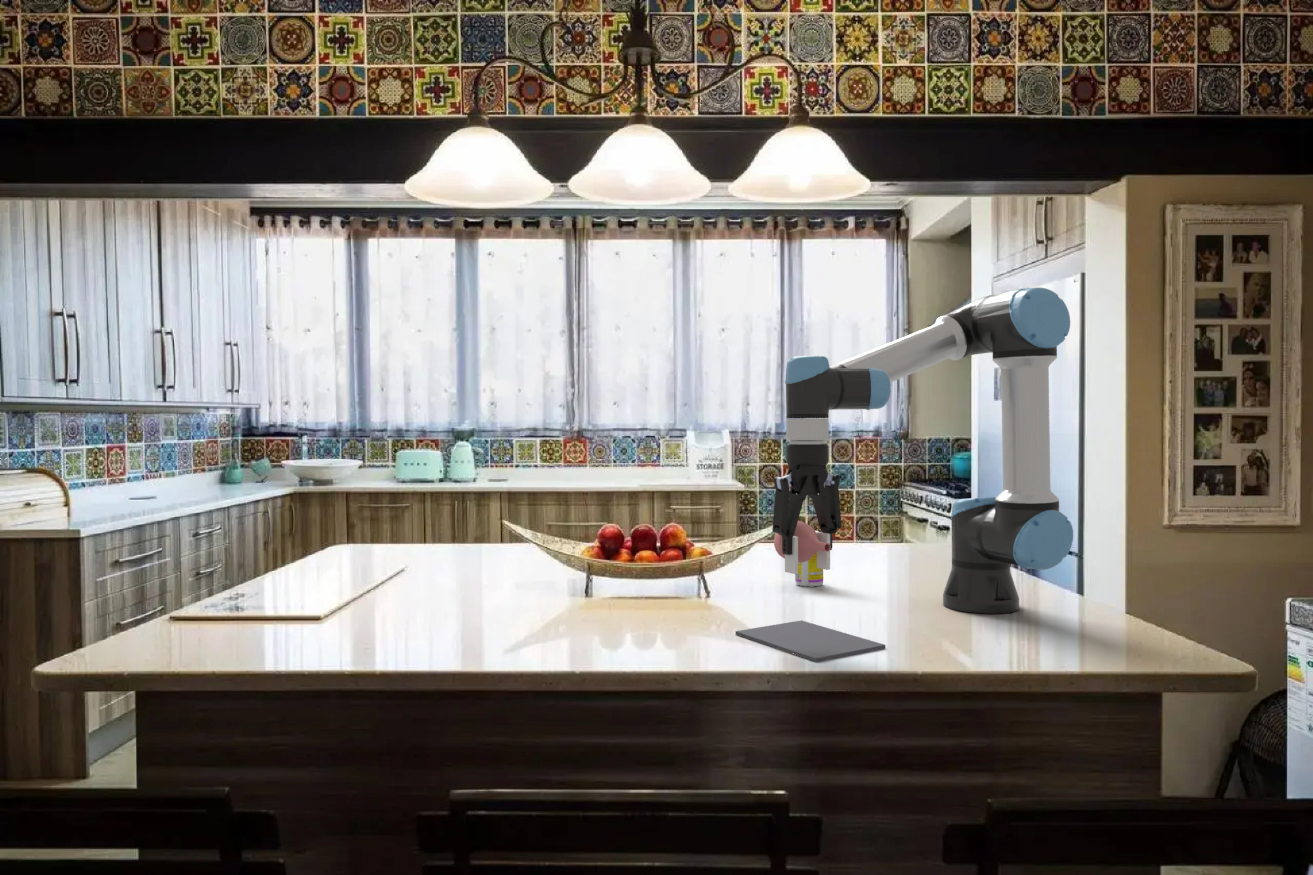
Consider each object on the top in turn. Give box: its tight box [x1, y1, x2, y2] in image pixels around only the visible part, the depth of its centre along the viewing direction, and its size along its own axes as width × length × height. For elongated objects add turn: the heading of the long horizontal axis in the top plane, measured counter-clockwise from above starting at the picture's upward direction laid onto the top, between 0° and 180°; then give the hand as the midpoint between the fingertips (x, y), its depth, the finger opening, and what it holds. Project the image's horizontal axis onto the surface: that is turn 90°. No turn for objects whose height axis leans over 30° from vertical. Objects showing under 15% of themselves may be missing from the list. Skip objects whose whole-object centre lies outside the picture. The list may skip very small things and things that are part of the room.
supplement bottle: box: [794, 530, 824, 588], centre depth 213 cm, size 7×7×13 cm
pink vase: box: [773, 520, 831, 563], centre depth 161 cm, size 8×8×12 cm
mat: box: [735, 619, 886, 663], centre depth 161 cm, size 16×22×1 cm
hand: (807, 570), depth 160 cm, fingers closed on pink vase, 7 cm apart
